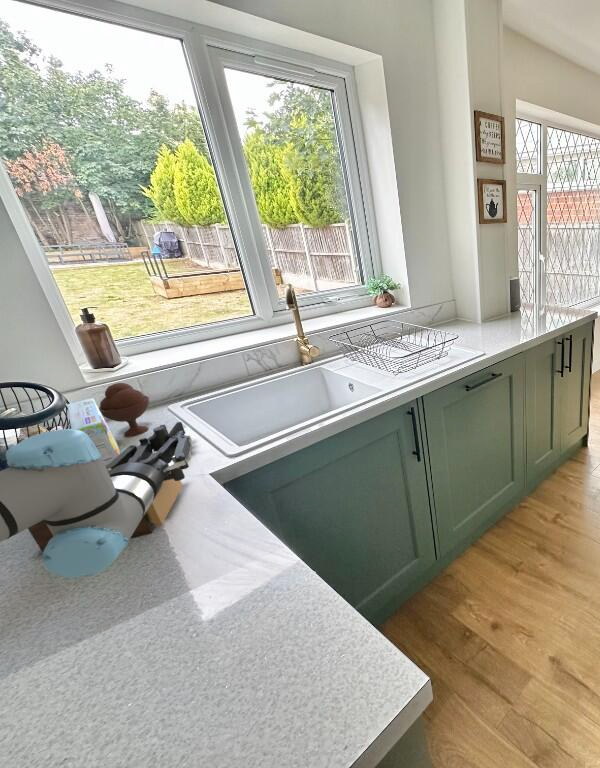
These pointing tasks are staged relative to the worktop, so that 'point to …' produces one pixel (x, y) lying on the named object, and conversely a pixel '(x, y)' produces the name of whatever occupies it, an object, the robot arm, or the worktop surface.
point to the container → (165, 487)
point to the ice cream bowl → (125, 406)
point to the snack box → (94, 428)
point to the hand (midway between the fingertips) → (173, 429)
